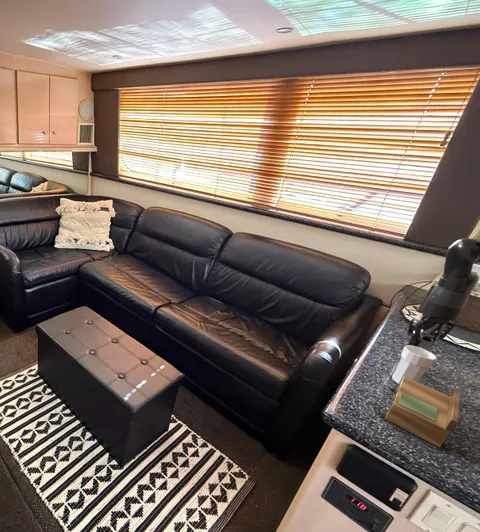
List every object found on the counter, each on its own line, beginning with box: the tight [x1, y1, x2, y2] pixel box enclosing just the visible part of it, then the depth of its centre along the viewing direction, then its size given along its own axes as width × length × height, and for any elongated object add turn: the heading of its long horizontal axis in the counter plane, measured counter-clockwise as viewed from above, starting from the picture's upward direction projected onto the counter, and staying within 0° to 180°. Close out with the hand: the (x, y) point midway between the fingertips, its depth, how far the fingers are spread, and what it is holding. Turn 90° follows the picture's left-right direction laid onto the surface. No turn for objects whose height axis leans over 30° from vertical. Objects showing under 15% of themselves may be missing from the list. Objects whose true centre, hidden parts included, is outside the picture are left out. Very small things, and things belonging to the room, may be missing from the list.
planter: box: [418, 333, 435, 352], centre depth 103 cm, size 4×4×10 cm
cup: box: [391, 344, 438, 385], centre depth 94 cm, size 7×7×11 cm
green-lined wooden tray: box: [384, 377, 462, 448], centre depth 82 cm, size 18×10×8 cm, turn 129°
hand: (418, 347), depth 103 cm, fingers closed on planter, 4 cm apart
